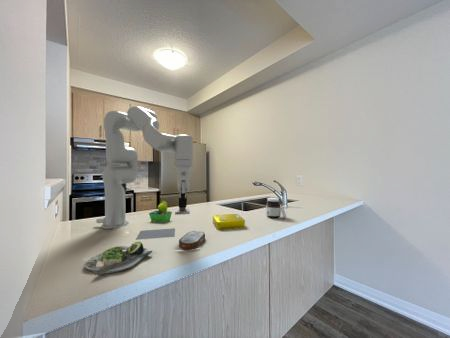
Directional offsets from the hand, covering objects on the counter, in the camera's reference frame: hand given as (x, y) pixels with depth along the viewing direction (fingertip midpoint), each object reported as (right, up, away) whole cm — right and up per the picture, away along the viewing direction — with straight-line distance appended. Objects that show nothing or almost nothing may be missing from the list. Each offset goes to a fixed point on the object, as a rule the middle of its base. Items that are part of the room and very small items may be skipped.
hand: (182, 206), depth 85 cm
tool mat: (-13, -14, +6) cm, 20 cm away
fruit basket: (-19, -14, +29) cm, 37 cm away
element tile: (+20, -15, +22) cm, 33 cm away
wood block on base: (0, -3, 0) cm, 3 cm away
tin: (+1, -13, -3) cm, 13 cm away
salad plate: (-17, -15, -19) cm, 29 cm away
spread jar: (+50, -14, +37) cm, 64 cm away
